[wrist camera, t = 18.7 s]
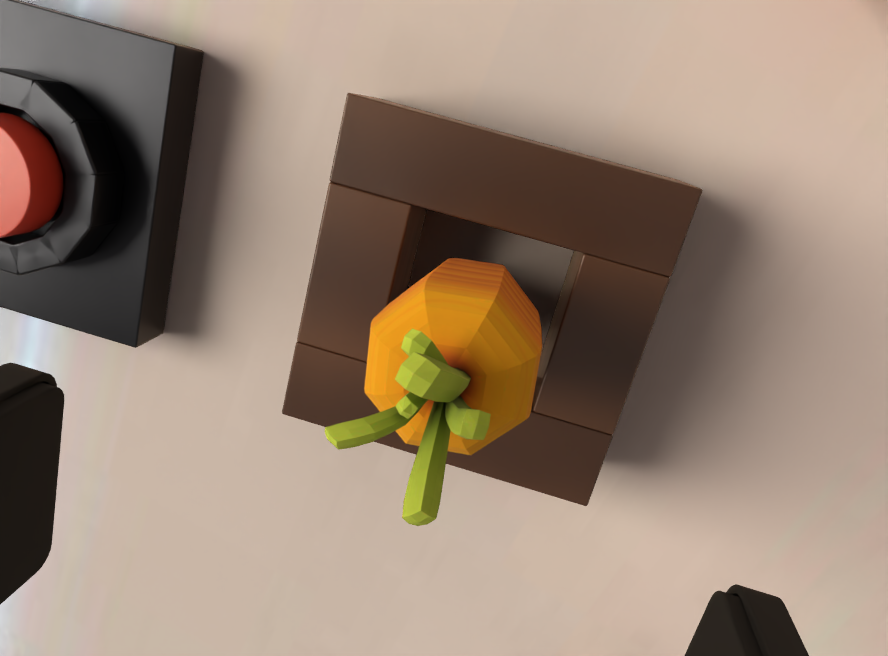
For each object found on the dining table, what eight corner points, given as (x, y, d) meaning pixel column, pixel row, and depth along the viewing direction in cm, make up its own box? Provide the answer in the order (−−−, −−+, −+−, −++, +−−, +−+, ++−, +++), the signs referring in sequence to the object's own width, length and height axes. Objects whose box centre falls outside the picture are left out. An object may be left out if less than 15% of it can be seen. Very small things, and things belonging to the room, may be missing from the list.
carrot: (505, 367, 29) (463, 594, 15) (401, 306, 29) (262, 476, 15) (570, 266, 28) (592, 411, 14) (461, 202, 28) (369, 279, 14)
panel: (-31, -14, 28) (-121, -36, 24) (204, 51, 28) (149, 38, 24) (-45, 271, 32) (-125, 290, 28) (163, 333, 31) (110, 362, 27)
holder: (375, 97, 27) (347, 92, 23) (680, 180, 26) (703, 189, 23) (314, 378, 31) (281, 414, 27) (582, 459, 30) (587, 507, 26)
